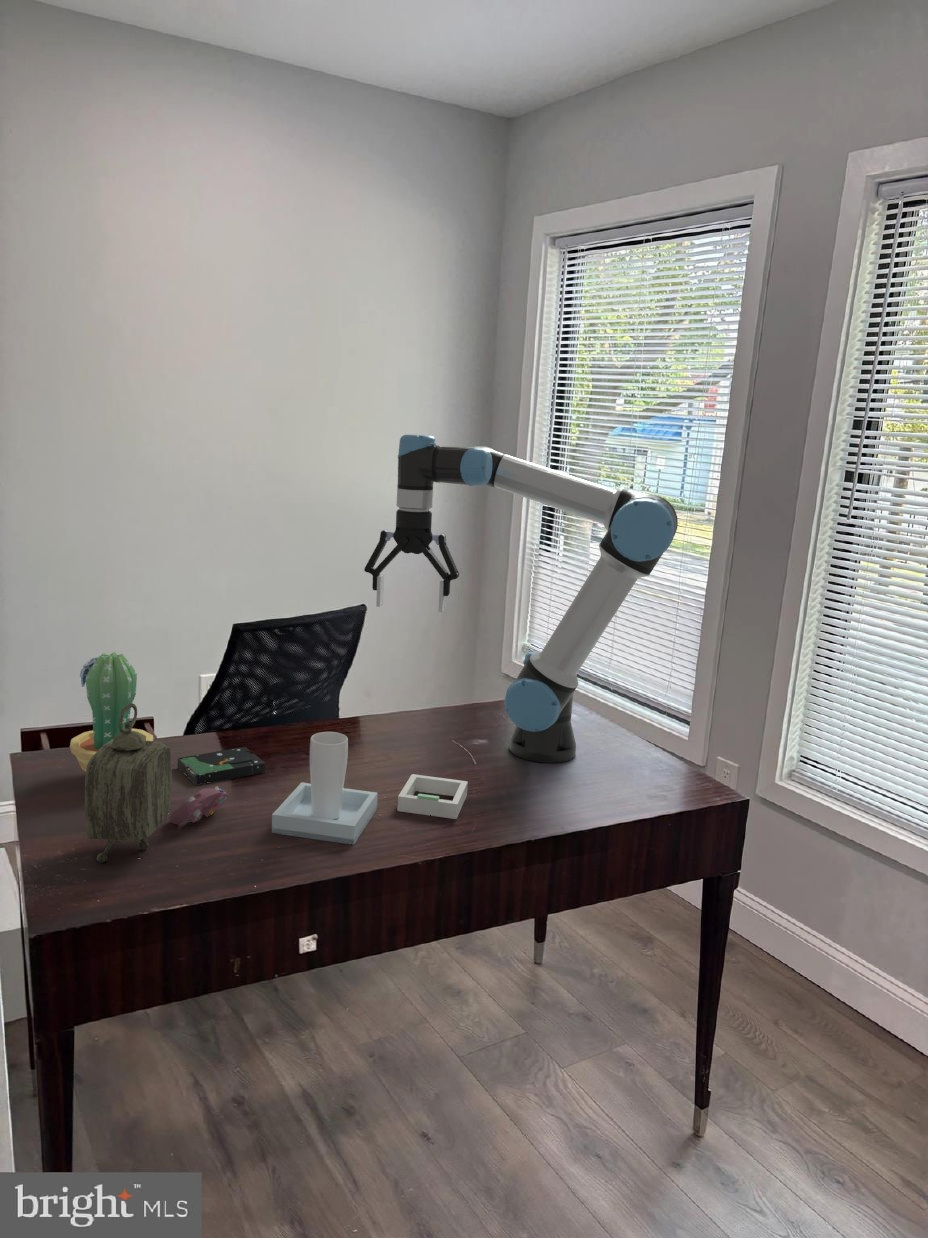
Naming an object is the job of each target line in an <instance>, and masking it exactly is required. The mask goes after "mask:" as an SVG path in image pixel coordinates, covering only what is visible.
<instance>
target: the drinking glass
mask: <svg viewBox="0 0 928 1238" xmlns="http://www.w3.org/2000/svg"><path fill="white" fill-rule="evenodd" d="M309 741H310V743H309V772H310V773H309V774H310V784H311V797H312V815H313V817H316V818H323V819H330V820H334V819H336V818H338V817H339V816H340V815H341V805H342V796H343V789H344V788H345V780H346V774H347V765H348V757H349V756H348V755H349V739H348V736H347V735H346V734H343V733H341V732H336V731H322V732H316V733H314V734H313V735H311V736H310V740H309Z"/></svg>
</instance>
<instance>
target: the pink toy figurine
mask: <svg viewBox="0 0 928 1238" xmlns="http://www.w3.org/2000/svg"><path fill="white" fill-rule="evenodd" d="M228 798H229V794H228V793H227V792H226V791H225V790H224V789H222V788H219V786H215V787H214V788H204V789H200V790H199V791H197V793H196V794H194V795H193V796H190V797H188V799H186V800H185V801H183V802H182V803H181V805H180V806H179V807H177V808H175V809H174V810H172V812H171V813H170V814H169V821H170V822H171V823H172V824H173V825H180V824H182V823H185V822H186V821H188V820H190V821H191V823H192V824H195V823H197V822H199V820H201V819H202V817H203V815H204V816H205V817H207V818H208V816H209V817H211V816H212V815H213V814H214V813H215V812H216V811H217V810H218V809H219V808H220V807H221V806H222V805H224V804H225V803H226V801H227V799H228ZM210 815H211V816H210ZM196 821H197V822H196ZM194 822H195V823H194Z"/></svg>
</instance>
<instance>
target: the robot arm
mask: <svg viewBox="0 0 928 1238" xmlns="http://www.w3.org/2000/svg"><path fill="white" fill-rule="evenodd" d="M398 445H399V447H398V455H397V485H396V487H397V488H396V489H397V490H396V507H397V508H398V509H397V510H396V511H395V513H396V514H395V529H394V531H390V530H388V529H384V530H381V531H380V535H379V541H378V543H377V544H376V547H375V548H374V550H373V552H372V554H371V555H370V558H369V560H368V561H367V563H366V564H365V567H364V568H363V569H364V570H363V571H364V572H365V573H368V574H370V575H372V584H371V585H372V586H371V587H372V590H373V591H376V602H375V603H376V604H375V605H376V607H379V608H380V607H382V606H383V604H384V580H385V577H384V576H385V575H384V574H381V573H382V571H384V569H386V567H388V565H389V564H390V563H391V562H392V561H393V560H394V559H395V558H396V557H397V556H398V554H400V553H401V552H403V553H404V554H414V555H420V554H423V555H424V557H425V558H426V559H427V560H428V561H429V563H430V564H431V565H432V567H433V568H434V569H435V570H436V572H437V574H438V575H439V577H441V578H442V579H441V580H440V581H439V588H438V589H439V591H438V594H439V595H438V612H439V613H443V612H444V611H445V598H446V597H449V596H450V592H451V581H454V580H456V579H458V578H459V577H460V571H459V570H458V568H457V565H456V562H455V561H454V558H453V557H452V554H451V551H450V549H449V546H448V545H447V536H446V533H441V534H433V532H432V525H433V523H432V520H433V519H432V517H433V512H432V511H431V509H432V508H433V496H434V483H438V484H440V483H442V484H453V485H454V484H455V485H465V486H466V485H467V486H469V487H473V486H485V485H486V486H489V487H492V488H496V489H499V490H502V491H504V492H508V493H510V494H513V495H515V496H519V497H522V498H524V499H529V500H530V501H534V502H537V503H540V504H542V505H546V506H548V507H552V508H554V509H558V510H560V511H563V512H567V513H569V514H571V515H574V516H577V517H581V518H584V519H587V520H589V521H592V522H596V523H598V524H602V525H603V526H604V529H605V530H606V533H605V535H604V536H603V538H602V540H601V541H600V543H599V544H598V548H599V551H600V557H599V559H598V561H597V562H596V564H594V567H593V568H592V570H591V571H590V573H589V575H588V577H587V578H586V579H585V581H584V583H583V584H582V586H581V587H580V589H579V591H578V592H577V594H576V596H575V597H574V599H573V601H572V602H571V604H570V605H569V607H568V609H567V610H566V611H565V613H564V615H563V616H562V618H561V620H560V621H559V623H558V625H557V626H556V627H555V630H554V632H553V633H552V634H551V636H550V638H549V639H548V641H547V642H546V644H545V646H544V647H543V649H542V650H541V651H539V650H537V651H529V652H526V654H525V656H524V659H523V662H522V663H523V667H522V668H521V671H520V672H519V674H518V675H517V677H516V678H515V680H514V682H513V683H511V684H510V685H509V686H508V688H507V689H506V693H505V696H504V701H503V702H504V704H503V705H504V709H505V712H506V715H507V717H508V719H509V720H510V722H512V724H514V725H515V727H514V729H513V731H512V733H511V736H510V739H509V750H510V752H511V753H512V754H513V755H514V756H516V757H518V758H521V759H523V760H526V761H531V762H535V763H536V762H537V763H545V764H549V763H550V764H554V763H555V764H557V763H564V762H567V761H571V760H572V759H574V758H575V757H576V752H577V742H576V738H575V734H574V730H573V726H572V712H573V705H574V703H573V702H574V692H575V691H576V689H577V688H578V686H579V680H578V679H579V678H578V675H577V674H578V673H579V671H580V669H581V668H582V667H583V665H584V663H585V661H587V659H588V658H589V655H590V654H591V652H592V650H593V649H594V648H595V646H596V644H597V643H598V641H599V640H600V639H601V637H602V635H603V634H604V632H605V630H606V629H607V627H608V625H609V624H610V623H611V621H612V620H613V618H614V617H615V614H616V613H617V612H618V611H619V609H620V607H621V605H622V604H623V603H624V601H625V600H626V598H627V597H628V594H629V593H630V591H632V589H633V587H634V585H635V584H636V582H637V581H638V579H640V578H645V577H649V576H650V574H651V573H652V572H653V570H654V568H655V567H656V565H657V564H658V563H659V560H660V559H661V558H662V556H663V555H664V553H665V552H666V551H667V550H668V549H669V547H670V545H672V542H673V541H674V537H675V535H676V532H677V530H678V525H679V524H678V523H679V522H678V521H679V520H678V519H679V518H678V515H677V512H676V510H675V508H674V506H673V505H672V504H671V503H670V501H668V500H667V499H666V498H664V497H662V496H661V495H660V496H659V495H656V494H651V493H645V492H642V491H641V492H640V491H636V490H633V489H629V488H626V487H619V488H617V489H613V488H610V487H607V486H604V485H600V484H597V483H594V482H591V481H588V480H585V479H583V478H578V477H575V476H573V475H570V474H567V473H564V472H561V471H557V470H555V469H552V468H549V467H545V466H542V465H540V464H536V463H534V462H530V461H527V460H524V459H521V458H517V457H515V456H512V455H509V454H504V453H502V452H499V451H496V450H494V449H493V448H491V447H488V446H486V445H475V446H466V447H465V446H464V447H463V446H462V447H461V446H443V445H438V444H437V443H436V438H435V436H433V435H426V434H425V435H422V434H403V435H402V436H400V439H399V444H398ZM391 539H394V541H395V543H396V545H395V546H394V547H393V549H391V551H390V553H389V554H387V555H386V557H385V558H384V559H383V560H382V561H381V562H380V563H379V564H378V565H377V566H376V567H375V565H376V563H377V561H378V559H379V558H380V556H381V554H382V553H383V551H384V548H385V547H386V545H387V542H389V541H391ZM433 541H434V542H435V544H436V545H437V546H438V548H439V550H440V552H441V555H442V557H443V560H444V562H445V564H446V567H447V569H448V570H447V569H446V567H445V566H444V565H443V563H442V562H441V561H440V559H438V556H436V554H435V553H434V551H433V549H432V548H431V547H430V544H431V543H432V542H433ZM448 571H449V572H448Z"/></svg>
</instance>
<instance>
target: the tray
mask: <svg viewBox="0 0 928 1238" xmlns="http://www.w3.org/2000/svg"><path fill="white" fill-rule="evenodd" d="M378 793H379V792H375V791H368V790H362V789H361V790H360V789H354V788H353V789H352V788H346V787H344V789H343V796H342V805H341V815H340V816H339V817H338V818H336V819H334V820H330V819H323V818H316V817H313V815H312V797H311V782H310V783H308V782H300V783H299V784H298V785H297V787H295V789H294V790H293V791H292V792H291V793H290V794H289V795H288V796H287V798H286V799H285V800H284V801H283V802H282V803H281V804H280V805H279V807H277V809H275V810H274V812H273V813H272V814H271V834H276V835H284V836H291V837H298V838H303V839H311V840H318V841H324V842H331V843H337V844H338V843H339V844H346V845H351V844H352V846H354V845H355V844H356V842H357V841H358V840H359V838H360V836H361V835H362V833H363V832H364V830H366V827H367V826H368V824H369V822H370V821H371V820H372V818H373V816H374V814H376V812H377V811H378Z"/></svg>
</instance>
